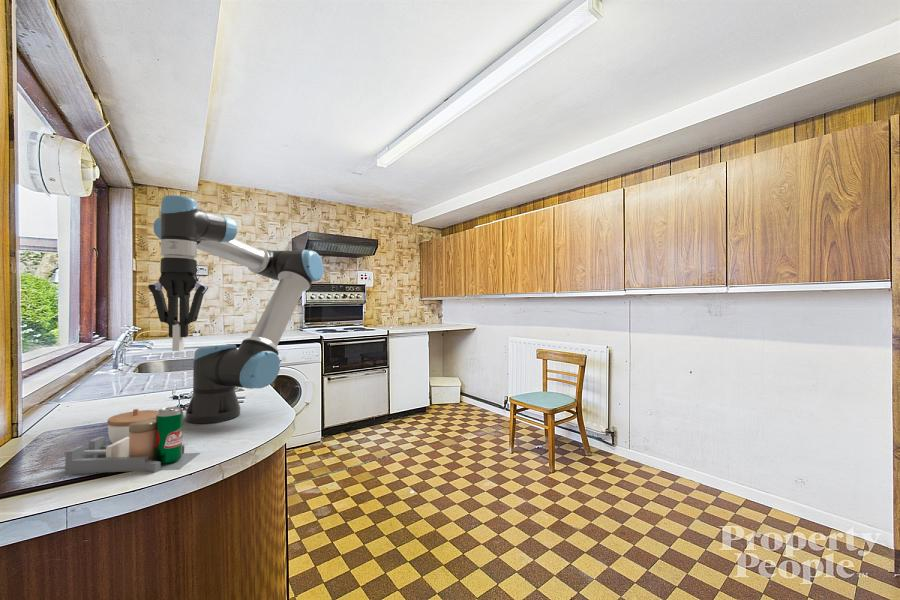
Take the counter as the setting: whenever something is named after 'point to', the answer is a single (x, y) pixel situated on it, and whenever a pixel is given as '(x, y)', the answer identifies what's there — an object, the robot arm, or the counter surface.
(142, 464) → the grey divided tray
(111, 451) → the pusher
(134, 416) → the lidded jar
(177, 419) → the soda can
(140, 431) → the jar
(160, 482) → the counter surface
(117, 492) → the counter surface
